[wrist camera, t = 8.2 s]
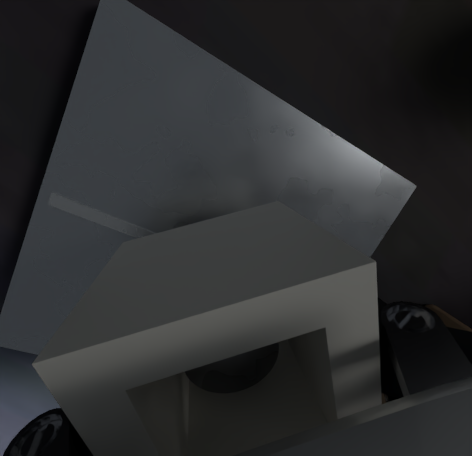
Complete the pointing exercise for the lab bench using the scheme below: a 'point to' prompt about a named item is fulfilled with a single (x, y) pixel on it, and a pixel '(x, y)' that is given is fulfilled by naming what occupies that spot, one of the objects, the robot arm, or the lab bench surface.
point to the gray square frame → (218, 337)
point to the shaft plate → (177, 174)
